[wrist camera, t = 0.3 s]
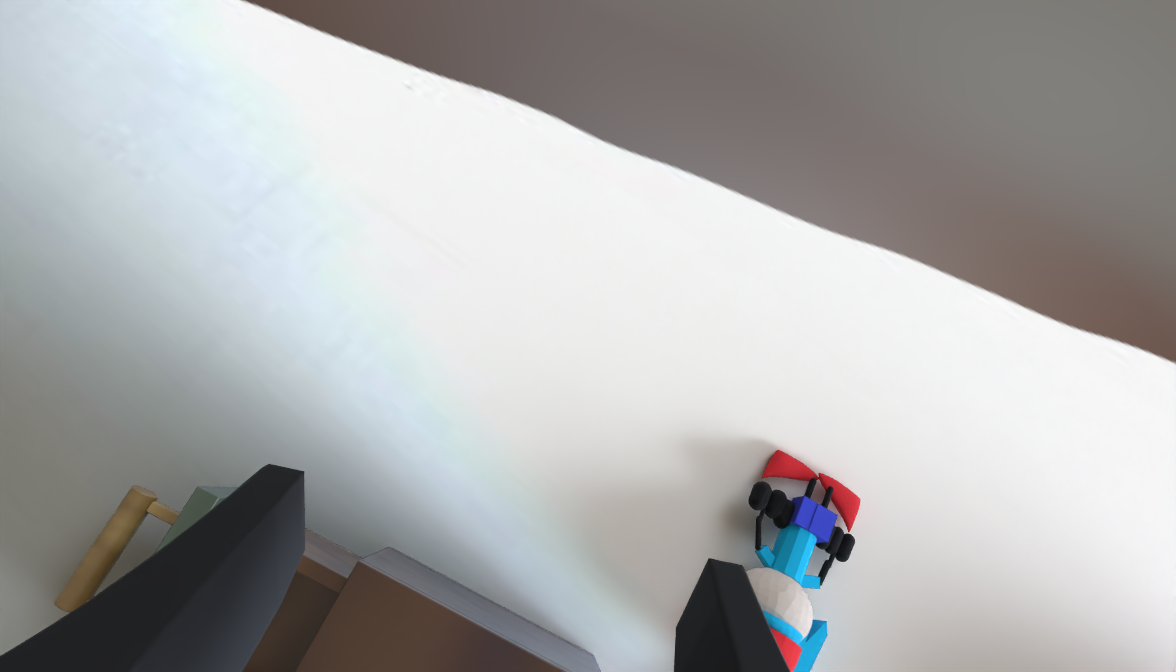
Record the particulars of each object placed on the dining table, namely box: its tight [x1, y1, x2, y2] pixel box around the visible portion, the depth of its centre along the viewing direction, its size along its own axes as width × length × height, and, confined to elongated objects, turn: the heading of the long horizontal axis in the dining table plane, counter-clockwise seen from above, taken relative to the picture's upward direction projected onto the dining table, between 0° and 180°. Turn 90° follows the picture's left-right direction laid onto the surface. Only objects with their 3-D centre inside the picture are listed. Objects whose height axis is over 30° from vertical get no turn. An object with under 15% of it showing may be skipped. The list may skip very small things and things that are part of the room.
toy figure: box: [746, 450, 860, 672], centre depth 40 cm, size 8×5×15 cm
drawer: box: [54, 486, 363, 672], centre depth 35 cm, size 17×11×7 cm, turn 63°
